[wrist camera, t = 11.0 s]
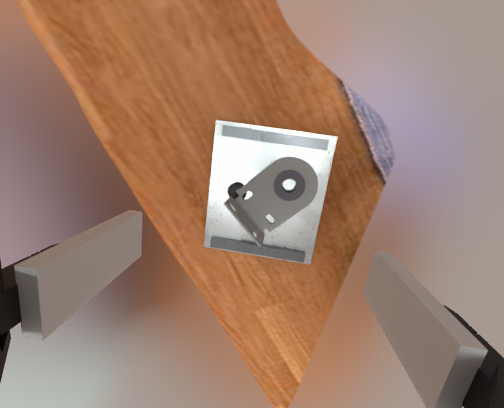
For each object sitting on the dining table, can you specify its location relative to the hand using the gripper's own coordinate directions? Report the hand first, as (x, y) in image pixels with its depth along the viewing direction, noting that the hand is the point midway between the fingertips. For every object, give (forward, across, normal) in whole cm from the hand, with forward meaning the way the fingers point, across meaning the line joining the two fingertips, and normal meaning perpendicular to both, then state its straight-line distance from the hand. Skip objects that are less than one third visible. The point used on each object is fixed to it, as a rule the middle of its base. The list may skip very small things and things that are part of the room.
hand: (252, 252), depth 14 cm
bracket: (+17, +1, 0) cm, 17 cm away
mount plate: (+18, 0, 0) cm, 18 cm away
